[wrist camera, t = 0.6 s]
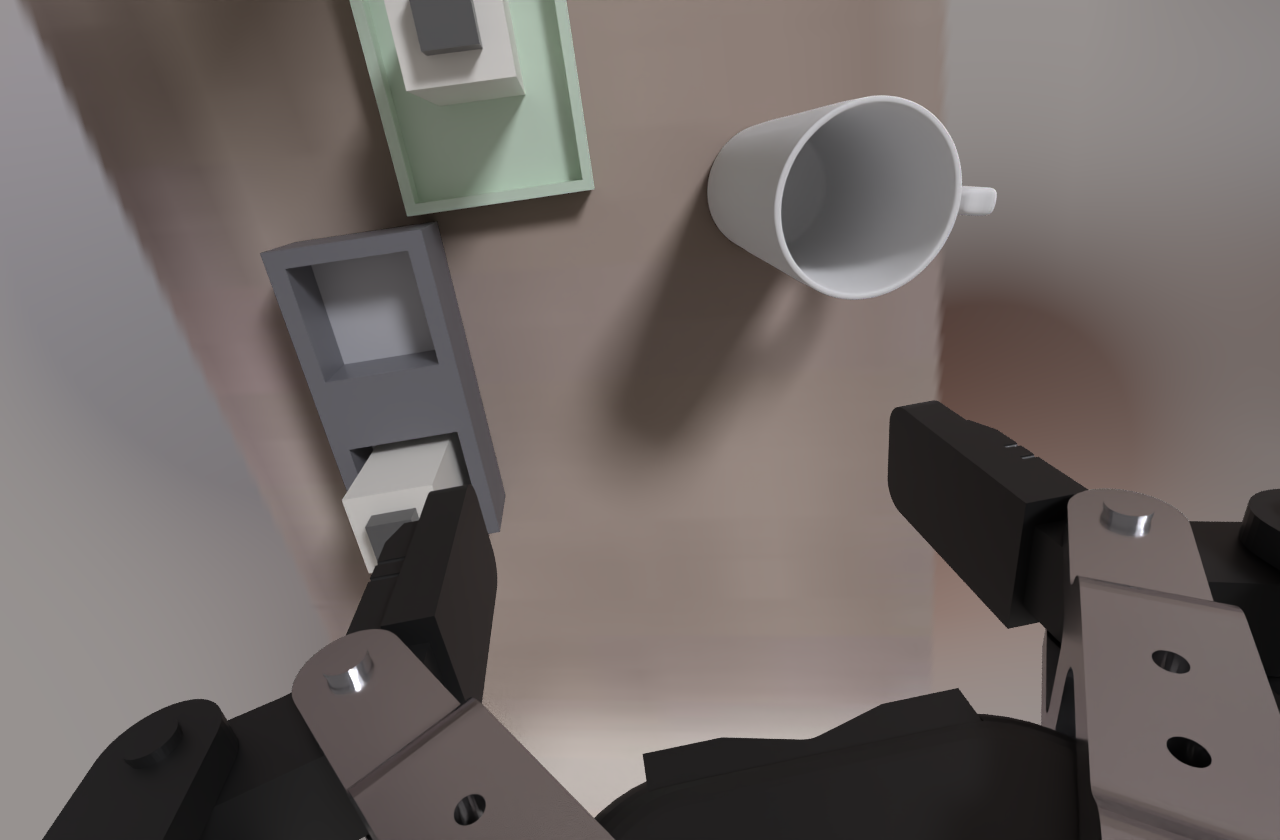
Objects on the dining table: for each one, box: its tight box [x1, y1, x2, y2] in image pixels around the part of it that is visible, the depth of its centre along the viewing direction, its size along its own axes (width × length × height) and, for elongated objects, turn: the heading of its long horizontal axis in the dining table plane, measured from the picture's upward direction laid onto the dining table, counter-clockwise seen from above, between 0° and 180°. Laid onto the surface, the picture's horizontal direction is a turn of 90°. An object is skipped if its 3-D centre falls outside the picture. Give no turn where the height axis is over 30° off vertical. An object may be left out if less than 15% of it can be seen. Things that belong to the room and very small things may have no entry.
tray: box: [349, 0, 595, 217], centre depth 28 cm, size 13×9×2 cm
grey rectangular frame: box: [260, 221, 505, 534], centre depth 32 cm, size 16×7×4 cm, turn 8°
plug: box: [384, 0, 525, 106], centre depth 25 cm, size 4×4×8 cm
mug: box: [707, 96, 997, 300], centre depth 27 cm, size 10×7×12 cm, turn 89°
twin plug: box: [342, 432, 472, 573], centre depth 31 cm, size 4×4×8 cm
